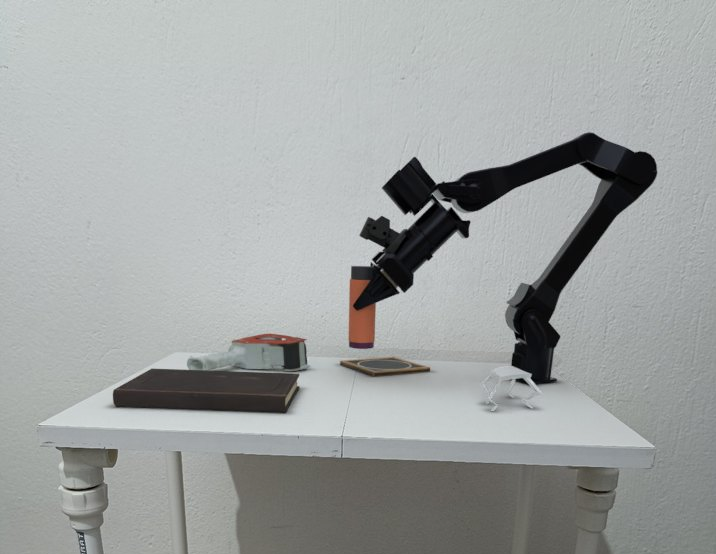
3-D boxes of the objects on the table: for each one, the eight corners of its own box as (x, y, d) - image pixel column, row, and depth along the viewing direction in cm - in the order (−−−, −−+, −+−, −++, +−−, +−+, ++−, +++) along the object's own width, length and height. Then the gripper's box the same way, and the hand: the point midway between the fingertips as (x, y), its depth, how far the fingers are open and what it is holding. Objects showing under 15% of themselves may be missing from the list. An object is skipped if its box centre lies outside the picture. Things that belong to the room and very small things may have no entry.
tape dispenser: (186, 383, 111) (305, 379, 110) (181, 352, 109) (303, 347, 108) (209, 360, 127) (313, 357, 126) (205, 332, 125) (311, 328, 124)
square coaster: (394, 360, 129) (394, 356, 129) (430, 371, 119) (430, 367, 119) (340, 364, 123) (340, 360, 123) (373, 376, 114) (373, 371, 113)
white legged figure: (543, 414, 91) (548, 379, 90) (482, 411, 92) (486, 376, 90) (530, 395, 103) (534, 364, 101) (475, 393, 103) (478, 361, 102)
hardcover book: (152, 383, 103) (151, 368, 103) (299, 388, 103) (299, 373, 102) (113, 407, 88) (111, 390, 87) (285, 413, 88) (285, 396, 87)
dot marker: (372, 345, 114) (374, 266, 110) (376, 349, 110) (378, 267, 106) (347, 345, 114) (348, 265, 110) (349, 348, 110) (351, 266, 105)
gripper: (386, 201, 113) (321, 267, 117) (395, 194, 96) (318, 272, 99) (429, 251, 116) (364, 314, 120) (445, 253, 99) (369, 327, 102)
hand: (354, 306), depth 110 cm, fingers closed on dot marker, 4 cm apart
